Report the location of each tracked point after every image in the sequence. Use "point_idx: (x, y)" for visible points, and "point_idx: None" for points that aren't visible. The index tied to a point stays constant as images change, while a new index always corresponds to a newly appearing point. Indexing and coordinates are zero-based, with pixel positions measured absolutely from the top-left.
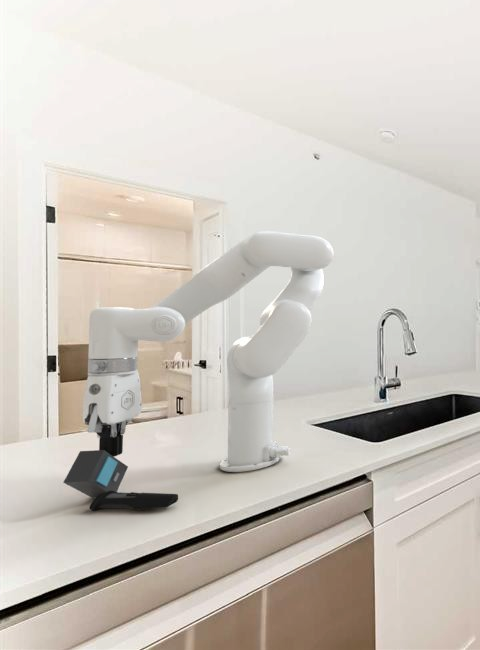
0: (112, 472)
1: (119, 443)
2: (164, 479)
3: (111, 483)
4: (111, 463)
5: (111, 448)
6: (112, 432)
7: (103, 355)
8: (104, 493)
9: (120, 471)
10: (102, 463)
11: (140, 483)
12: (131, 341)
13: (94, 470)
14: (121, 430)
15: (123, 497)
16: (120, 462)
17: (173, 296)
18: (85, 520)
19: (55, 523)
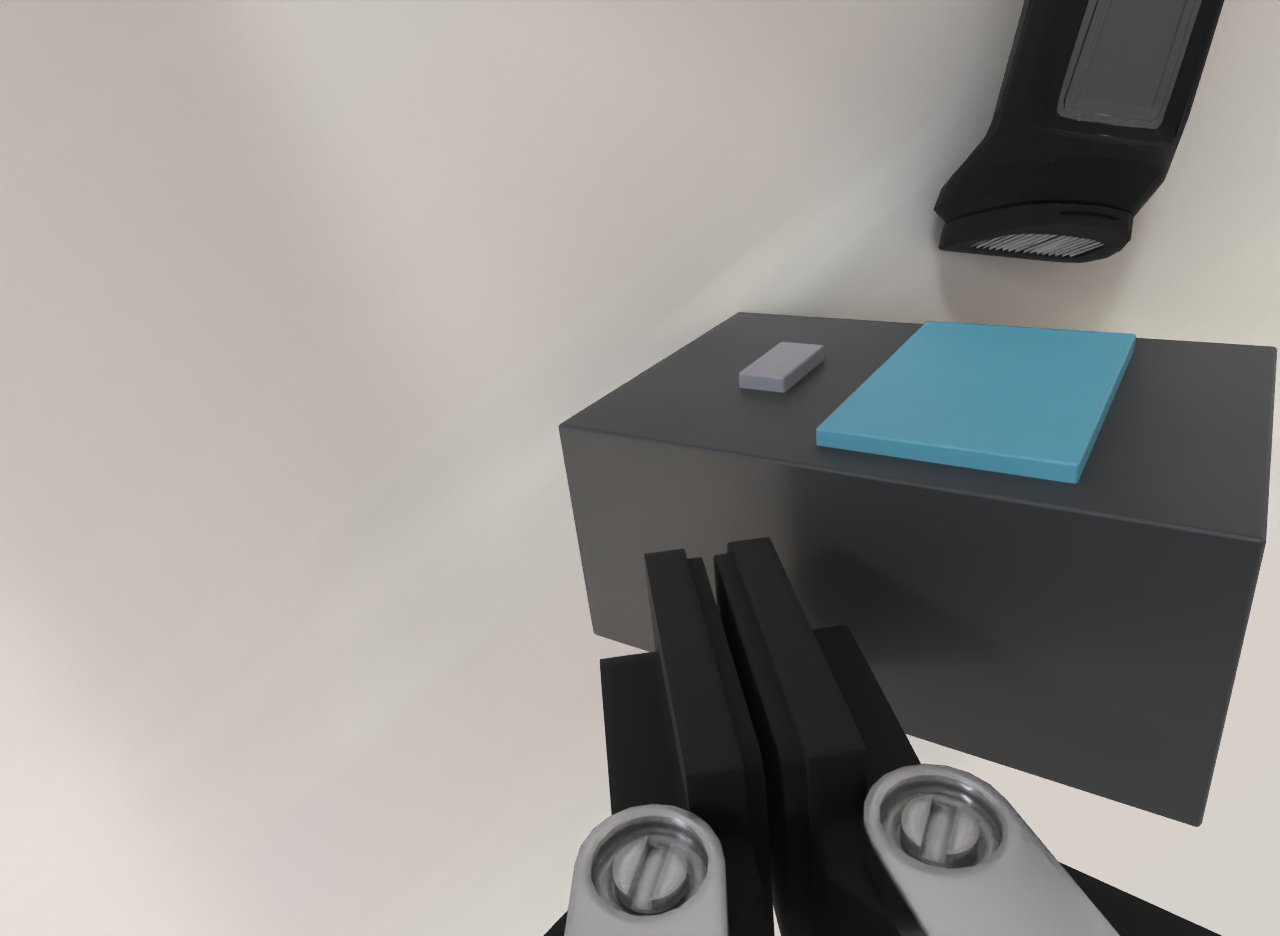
0: (886, 373)
1: (732, 662)
2: (262, 140)
3: (830, 347)
4: (964, 417)
5: (828, 658)
6: (1048, 868)
7: None
8: (1162, 162)
9: (701, 399)
10: (1143, 433)
11: (402, 328)
12: None
13: (1251, 396)
14: (707, 892)
15: None
16: (724, 447)
17: None
18: (1269, 124)
19: (1244, 331)
